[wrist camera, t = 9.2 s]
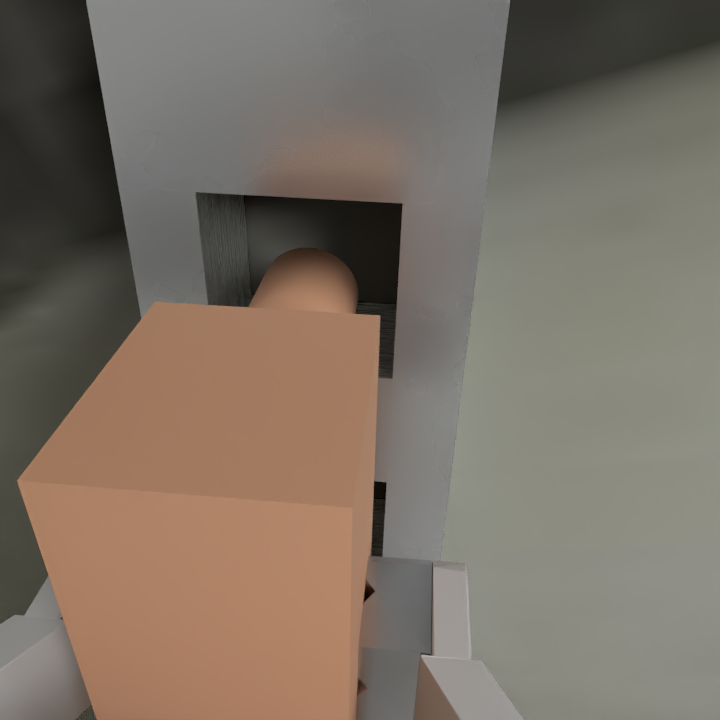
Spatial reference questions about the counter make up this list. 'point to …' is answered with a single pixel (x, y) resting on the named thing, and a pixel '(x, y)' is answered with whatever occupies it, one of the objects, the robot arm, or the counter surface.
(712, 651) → the counter surface
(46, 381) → the counter surface
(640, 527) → the counter surface
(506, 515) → the counter surface
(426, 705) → the robot arm
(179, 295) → the rail
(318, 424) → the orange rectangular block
